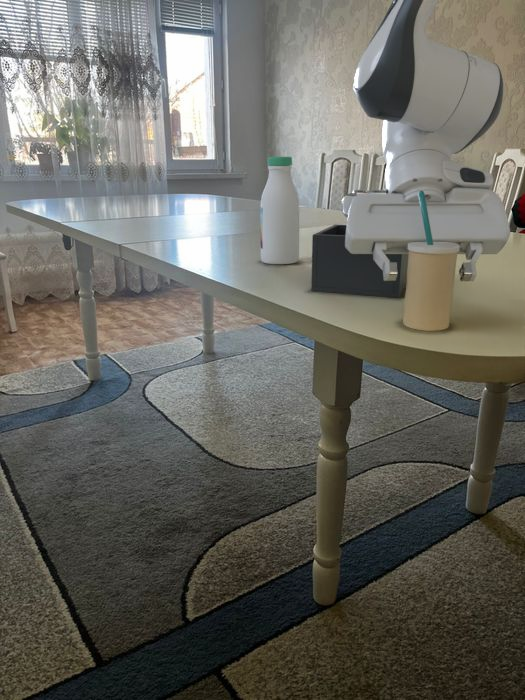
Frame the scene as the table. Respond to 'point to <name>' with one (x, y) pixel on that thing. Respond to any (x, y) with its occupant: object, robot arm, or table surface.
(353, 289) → the bin
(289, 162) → the milk bottle
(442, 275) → the takeaway cup
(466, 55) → the robot arm
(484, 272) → the table surface
